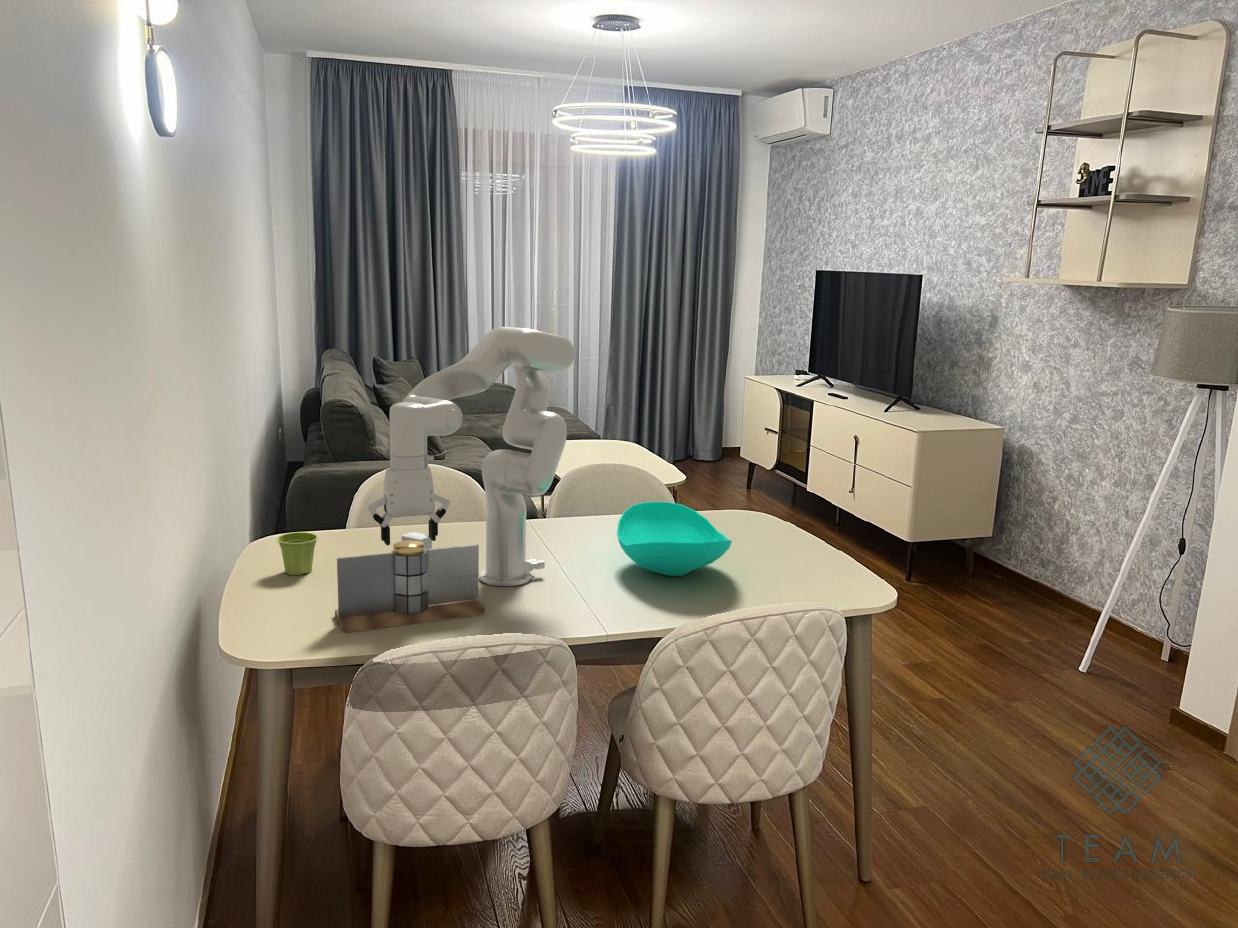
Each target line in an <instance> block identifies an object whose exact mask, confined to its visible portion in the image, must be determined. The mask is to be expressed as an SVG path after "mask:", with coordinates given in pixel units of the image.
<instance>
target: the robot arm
mask: <svg viewBox="0 0 1238 928" xmlns="http://www.w3.org/2000/svg"><path fill="white" fill-rule="evenodd" d="M575 354H576V353H575V348H574V346H573V343H572V342H571V340H569V338H567V337H565V336H563V335H558V334H554V333H549V332H544V331H540V330H536V329H531V328H524V327H514V326H513V327H511V326H498V327H495V328H493V329H491V330H490V331H489V332H487V334H485V336H483V337H482V338H481V340H480V341H478V343H477V344H475V346H474V347H473V348H472V349H471V350H470V351H469V352H468V353H467V354H466V355H465V356H464V357H463V358H462V359H461V360H459V362H457V363H455V364H452V365H450V366H447V367H446V368H443V369H441V370H440V371H437V372H435V373H434V374H431V375H429V376H427V377H425V378H424V379H423V380H421V381H420V382H419V383H418V384H416V385H415V386H414V388H413V389H412V390H411V391H409V393H408V394H407V395H406V396H405V397H404V399H403V400H402V401H401V402H396V403H393V404H392V405H391V406H390V408H389V455H390V457H389V462H390V463H389V464H390V465H389V466H390V467H387V468H386V470H385V472H384V473H385V475H384V481H383V482H384V483H383V493H382V494H383V495H382V497H379V499H376V500H375V501H373V502H371V503H370V504H368V505H367V507H366V509H367V511H368V512H369V514H370V515H371V518H373V520H374V521H375V522H376V523H378V525H380V540H381V541H382V542H383V543H384V544H385V545H386V546H390V545H391V527H390V525H389V524H390V523H391V521H392V520H393V519H394V518H406V517H407V518H408V517H420V516H429V517H430V518H429V519H428V535H429V538H430V539H431V540H432V542H436V539H437V538H436V537H437V536H438V535H439V522H441V521H440V520H441V519H442V518H443V517H444V516H445V514H446V513H447V511H448V508H449V507H450V504H451V501H450V499H448V498H446V497H444V496H442V495H439V494H437V493H435V490H434V489H435V487H434V479H433V476H432V470H431V467H430V466H429V464H430V463H433V462H435V457H434V455H430V454H428V437H431V436H440V437H441V436H449V435H452V434H454V433H456V432H457V431H458V430H459V429H460V427H461V425H462V423H463V417H464V416H463V412H462V409H461V408H460V406H458V405H457V404H456V403H455V402H453V401H451V400H455V399H457V398H462V397H468V396H472V395H476V394H480V393H483V392H485V391H486V390H488V389H489V388H490V387H491V386H492V385H493V384H494V383H495V382H496V380H497V379H498V378H500V376H501V375H502V374H503V373H504V372H505V371H506V369H508V368H509V367H510V366H512V368H513V369H514V374H515V377H516V388H515V391H514V395H513V397H512V401H511V403H510V406H509V409H508V412H507V414H506V418H505V421H504V423H503V426H502V438H503V440H504V442H506V444H508V445H510V446H513V447H515V448H516V447H517V448H520V449H526V450H530V451H531V453H529V452H528V453H527V452H522V451H515V450H512V449H505V448H504V449H496V450H492V451H491V452H489V453H488V454H487V455H486V456H485V457H484V459H483V462H482V465H481V466H482V467H481V476H482V481H483V482H482V483H483V485H484V491H485V503H486V504H485V507H486V508H485V509H486V510H485V513H486V516H485V517H486V518H485V521H486V522H485V523H486V524H485V531H486V532H485V534H486V535H485V546H486V547H485V569H482V571H480V573H479V581H481V582H482V583H484V584H487V585H490V586H496V587H513V586H515V587H516V586H522V585H524V584H527V583H528V582H530V581H531V580H532V579H533V577H532V576H533V573H532V571H533V570H541V569H542V570H543V569H545V567H546V566H545V561H544V560H538V561H537V560H536V559H530V560H529V559H527V558H526V550H527V549H526V547H527V546H526V545H527V544H526V543H527V542H526V541H527V537H526V536H527V505H526V501H525V498H524V496H523V495H526V496H535V497H538V496H542V495H544V494H545V493H546V492H547V491H549V489H550V487H551V485H552V483H553V480H554V478H555V475H556V472H557V469H558V466H559V463H560V460H561V458H562V455H563V452H564V449H565V446H566V441H567V436H568V433H567V432H568V429H567V423H566V421H565V419H564V418H563V417H562V416H561V415H560V414H558V413H556V412H553V411H547V409H548V406H549V403H550V399H551V387H550V383H549V380H548V378H547V376H546V373H545V372H550V373H551V372H552V373H563V372H565V371H567V370H568V369H570V367H571V366H572V365H573V362H574V360H575ZM435 502H437V503H439V504H440V507H439V508H438V509H437V510H436V511H435V507H436V504H435ZM381 507H383V509H382V510H383V512H384V513H383V515H382V516H380V515H379V514H378V512H377V510H378V508H381Z"/></svg>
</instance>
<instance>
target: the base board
mask: <svg viewBox="0 0 1238 928" xmlns="http://www.w3.org/2000/svg"><path fill="white" fill-rule="evenodd" d="M481 615H486V607H485V606H484V605H483V604H482V603H481V601H479V599H475V600H467V601H459V602H451V603H443V604H435V605H429V609H428V610H426V611H425V612H423V613H421V614H413V615H404V614H398V613H395V612H394V611H393V612H385V613H377V614H370V615H362V616H354V617H346V618H339V617H338V608H336V609H334V617H335V620H336V621H337V623H338V625H339V627H340V629H341V631H342V633H343V634H346V633H353V632H363V631H367V630H368V631H369V630H375V629H376V630H377V629H382V628H391V627H392V628H393V627H399V626H406V625H407V626H408V625H414V624H419V623H420V624H422V623H428V622H435V621H436V622H437V621H442V620H451V619H461V618H465V617H473V616H481Z"/></svg>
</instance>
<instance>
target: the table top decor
mask: <svg viewBox="0 0 1238 928" xmlns="http://www.w3.org/2000/svg"><path fill="white" fill-rule="evenodd" d="M616 529H617V530H616V536H617V540H618V543H619V546H620V548H621V550H622V551H623V553H625V555H626V556H627V557H628V558H629V559H631V560H632V562H634V563H636V565H637V566H640V567H641V568H644V569H646V570H648V571H650V572H651V571H652V572H653V573H657V574H660V575H663V576H668V577H681V576H685V575H687V574H689V573H690V572H692V571H694V570H698V569H701V568H704V567H706V566H708V565H710V564H713V563H714V562H716V561H717V560H719V559H720V558H721V557H723V556H724V554H725V553H727V552H728V551H729V549H730V548H731V545H732V543H733V540H732V539H729V538H727V536H725V534H723V533H722V532H720V531H719V530H718V529H717V528H716V527H715V526H713V524H712V523H711V522H710V521H709V520H708V519H707V518H706V517H704V516H703V515H702V514H700V513H699V512H698V511H697V510H694V509H692V508H690V507H688V506H686V505H683V504H680V503H677V502H676V503H674V502H670V501H646V502H645V501H644V502H640V503H639V502H638V503H636V504H632V505H631V506H629V507H628V508H627V509H626V510H625V511H623V512H622V515H621V516H620V518H619V520H618V522H617V528H616Z"/></svg>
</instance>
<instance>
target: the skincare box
mask: <svg viewBox="0 0 1238 928" xmlns="http://www.w3.org/2000/svg"><path fill="white" fill-rule="evenodd" d="M409 540H411V541H420V542H423V543H424V548H426V550H427V551H428V549H433V547H432V544H433V541H432V540H431V539H430V538H429V534H425V533H421V532H415V531H411V532H408V533H405V534H403V535H401V541H409Z"/></svg>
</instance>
